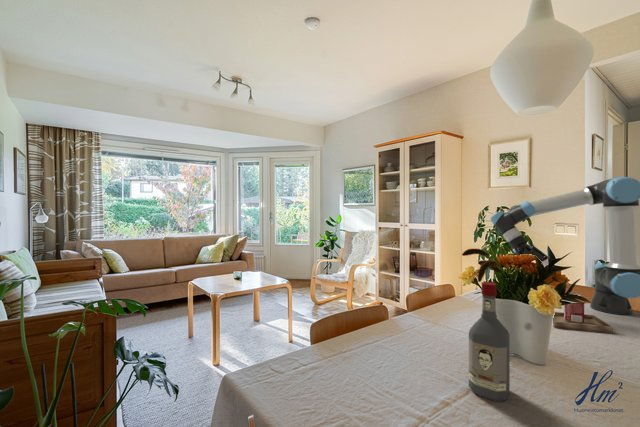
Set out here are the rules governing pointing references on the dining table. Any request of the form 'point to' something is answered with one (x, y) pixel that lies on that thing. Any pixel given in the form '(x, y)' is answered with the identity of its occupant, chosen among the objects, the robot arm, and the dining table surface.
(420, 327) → the dining table surface
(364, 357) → the dining table surface
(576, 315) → the soda can
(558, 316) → the walnut tray
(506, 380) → the liquor
